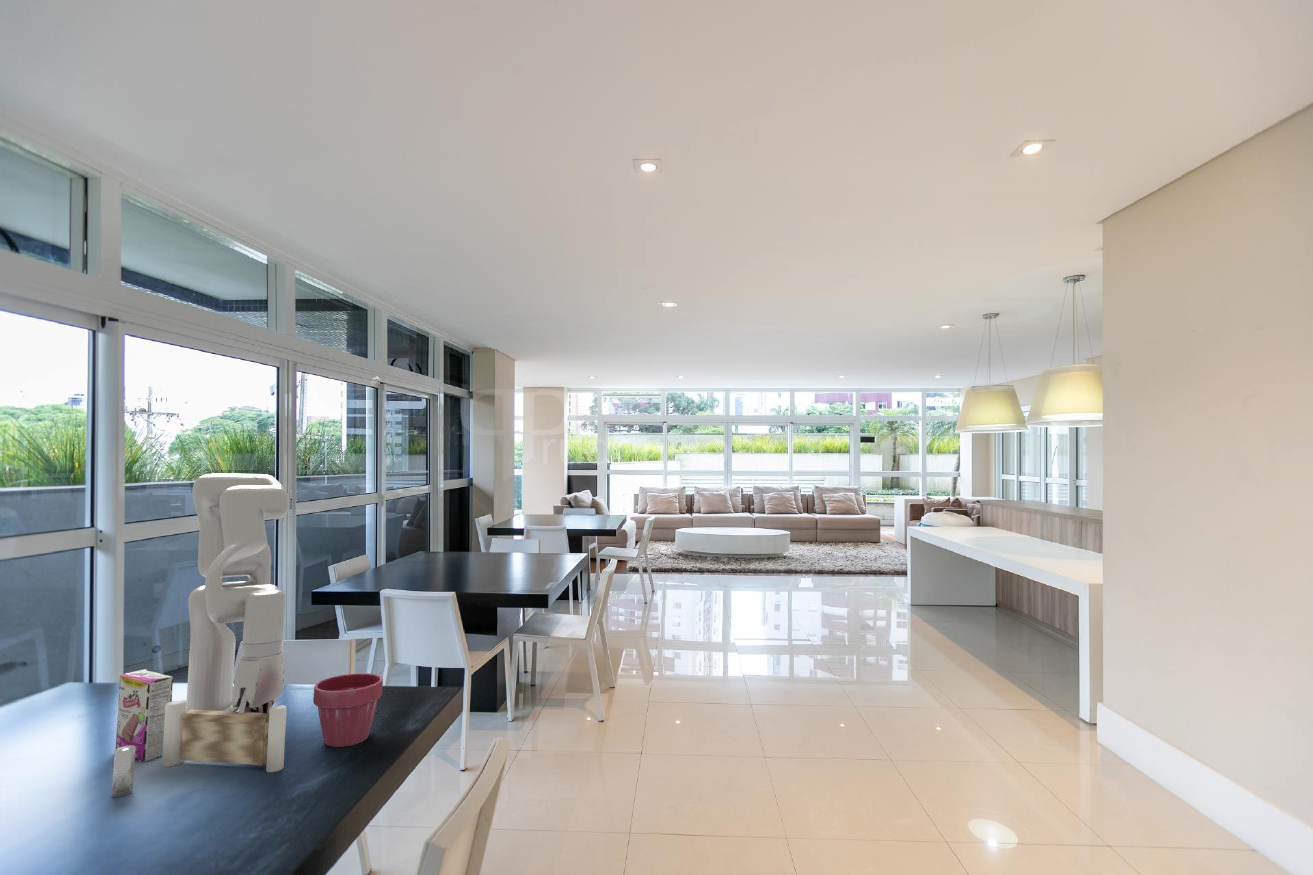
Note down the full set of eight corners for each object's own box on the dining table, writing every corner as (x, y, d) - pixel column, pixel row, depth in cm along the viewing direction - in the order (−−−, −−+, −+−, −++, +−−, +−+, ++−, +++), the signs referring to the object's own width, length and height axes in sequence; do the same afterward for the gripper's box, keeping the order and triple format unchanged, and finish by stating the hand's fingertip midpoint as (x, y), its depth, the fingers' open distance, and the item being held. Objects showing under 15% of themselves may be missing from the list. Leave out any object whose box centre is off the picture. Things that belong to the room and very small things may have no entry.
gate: (179, 760, 130) (182, 713, 131) (188, 755, 132) (191, 709, 133) (261, 765, 128) (264, 717, 129) (269, 760, 130) (271, 713, 131)
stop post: (122, 788, 120) (125, 744, 120) (136, 789, 120) (139, 745, 120) (107, 796, 117) (110, 751, 117) (122, 797, 117) (125, 752, 117)
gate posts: (172, 758, 133) (175, 699, 134) (287, 765, 131) (290, 705, 131) (156, 765, 130) (161, 705, 130) (275, 773, 127) (278, 711, 128)
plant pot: (336, 725, 152) (338, 670, 153) (392, 728, 151) (394, 673, 152) (296, 750, 138) (299, 689, 139) (358, 753, 136) (360, 692, 137)
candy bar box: (112, 753, 135) (118, 674, 136) (139, 744, 140) (145, 668, 141) (142, 763, 130) (148, 681, 132) (169, 754, 135) (175, 675, 136)
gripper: (270, 639, 145) (266, 722, 144) (219, 657, 130) (213, 750, 129) (301, 640, 144) (297, 724, 143) (253, 658, 129) (248, 752, 128)
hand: (257, 736), depth 136 cm, fingers closed
